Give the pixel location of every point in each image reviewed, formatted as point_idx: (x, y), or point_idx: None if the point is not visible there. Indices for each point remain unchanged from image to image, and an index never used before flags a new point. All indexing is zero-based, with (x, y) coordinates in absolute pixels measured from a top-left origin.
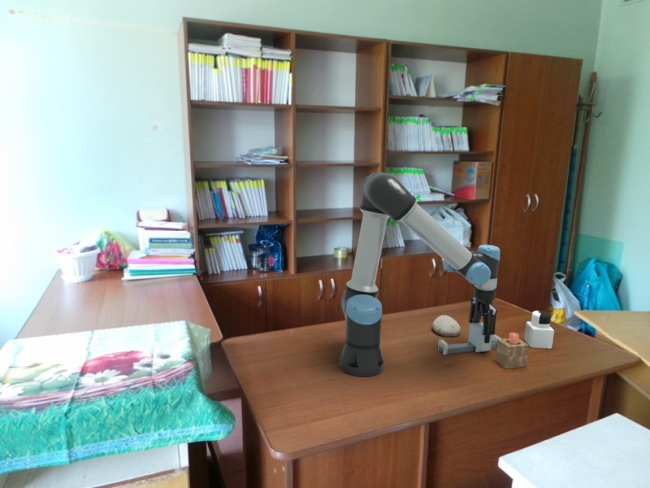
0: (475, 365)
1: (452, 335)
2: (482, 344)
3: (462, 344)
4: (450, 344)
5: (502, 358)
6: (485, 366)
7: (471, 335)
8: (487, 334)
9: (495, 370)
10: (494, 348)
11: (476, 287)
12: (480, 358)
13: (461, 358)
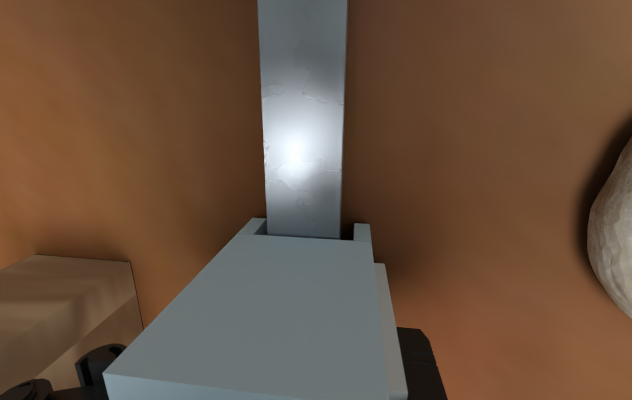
0: (64, 85)
1: (595, 203)
2: None
3: (316, 142)
4: (346, 5)
5: (24, 283)
6: (54, 150)
7: (322, 277)
8: (42, 385)
9: (9, 180)
10: None
11: None
12: (165, 189)
13: (172, 36)
